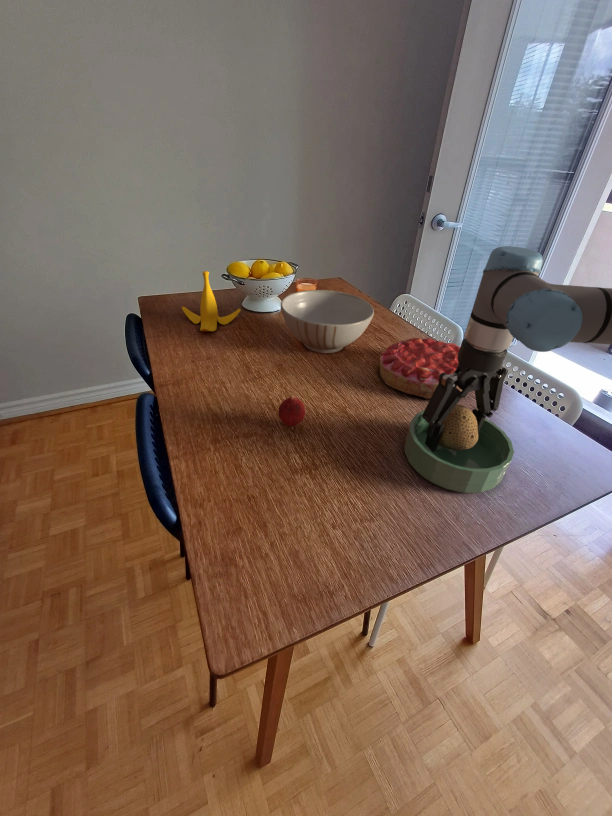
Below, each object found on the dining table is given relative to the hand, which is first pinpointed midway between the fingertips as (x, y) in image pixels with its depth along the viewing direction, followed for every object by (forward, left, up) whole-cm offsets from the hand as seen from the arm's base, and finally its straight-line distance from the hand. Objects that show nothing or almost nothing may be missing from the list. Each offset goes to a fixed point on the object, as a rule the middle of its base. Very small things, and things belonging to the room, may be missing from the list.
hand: (450, 442), depth 81 cm
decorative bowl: (+53, +5, -3) cm, 53 cm away
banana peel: (+73, +36, -3) cm, 82 cm away
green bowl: (-2, 0, -3) cm, 3 cm away
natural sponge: (0, 0, -2) cm, 2 cm away
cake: (+27, -14, -3) cm, 31 cm away
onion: (+18, +28, -3) cm, 33 cm away
